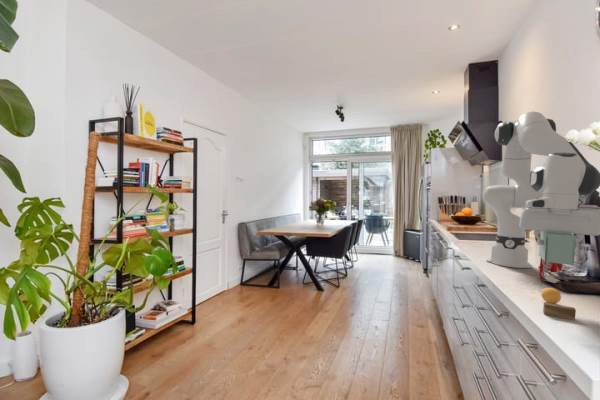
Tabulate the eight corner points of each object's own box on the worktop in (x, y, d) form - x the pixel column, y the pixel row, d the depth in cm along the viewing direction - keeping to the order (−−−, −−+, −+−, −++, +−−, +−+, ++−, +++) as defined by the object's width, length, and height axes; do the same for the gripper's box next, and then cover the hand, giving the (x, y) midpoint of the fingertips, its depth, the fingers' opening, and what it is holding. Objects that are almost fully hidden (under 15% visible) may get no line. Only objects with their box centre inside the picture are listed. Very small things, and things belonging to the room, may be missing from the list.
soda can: (563, 285, 124) (565, 255, 123) (541, 282, 127) (543, 252, 126) (557, 280, 130) (560, 251, 130) (536, 278, 133) (538, 249, 133)
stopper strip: (543, 312, 95) (543, 302, 95) (573, 317, 92) (573, 307, 92) (544, 314, 94) (545, 304, 94) (574, 320, 90) (575, 309, 90)
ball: (544, 297, 101) (541, 305, 104) (564, 299, 99) (560, 307, 102) (541, 283, 104) (539, 291, 108) (560, 285, 102) (557, 293, 105)
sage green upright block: (538, 255, 108) (540, 229, 107) (565, 258, 104) (567, 232, 104) (544, 261, 98) (546, 233, 98) (573, 265, 95) (576, 236, 94)
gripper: (600, 205, 98) (596, 249, 98) (520, 201, 108) (517, 241, 108) (607, 205, 92) (603, 252, 93) (522, 201, 102) (519, 243, 103)
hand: (556, 246), depth 101 cm, fingers closed on sage green upright block, 7 cm apart
